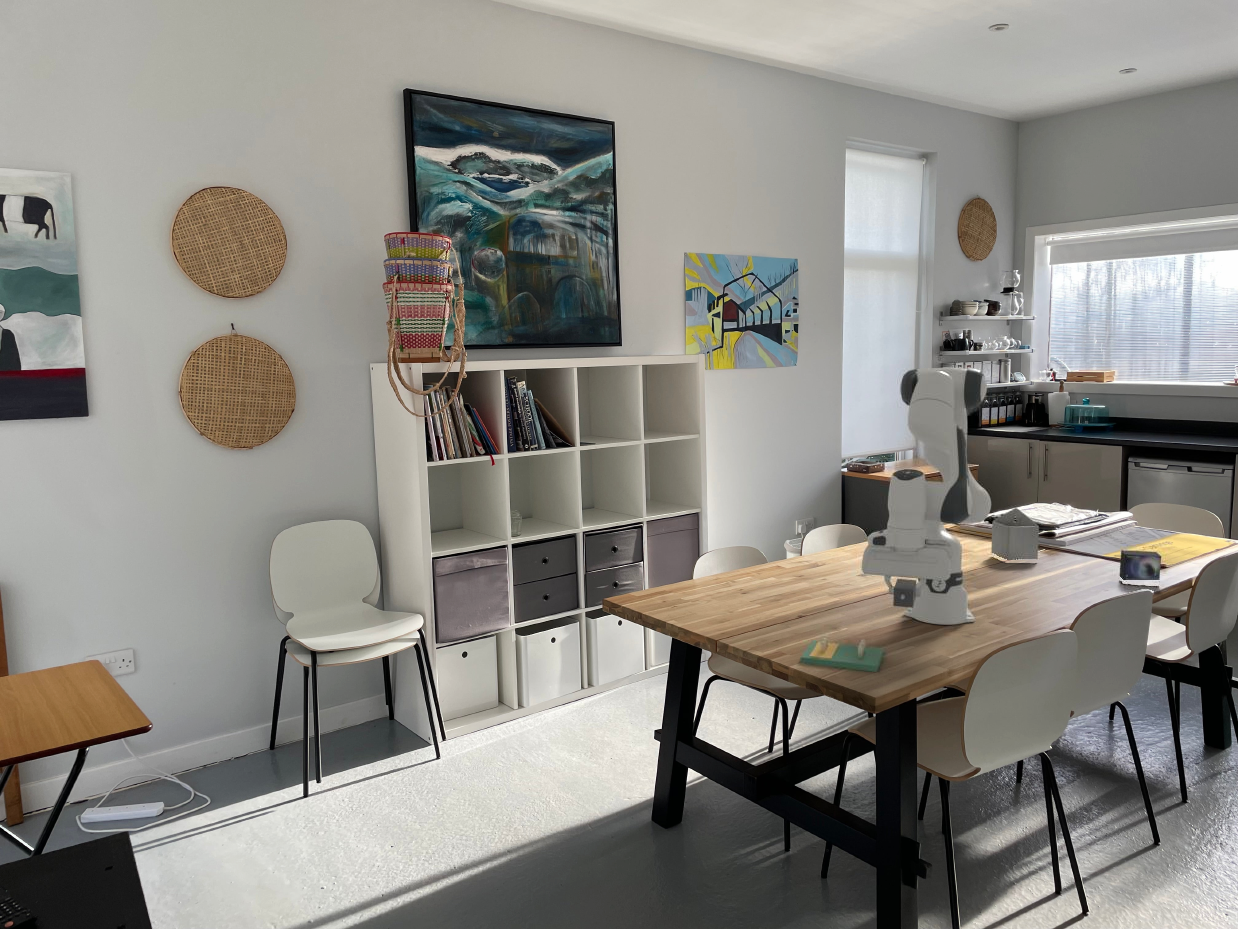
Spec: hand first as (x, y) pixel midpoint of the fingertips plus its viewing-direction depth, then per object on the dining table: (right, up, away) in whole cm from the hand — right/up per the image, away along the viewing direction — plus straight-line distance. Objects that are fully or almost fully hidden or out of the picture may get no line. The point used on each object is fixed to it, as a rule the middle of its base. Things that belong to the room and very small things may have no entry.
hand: (904, 595), depth 215 cm
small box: (+101, -8, +77) cm, 127 cm away
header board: (-13, -17, +7) cm, 22 cm away
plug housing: (-1, -2, -1) cm, 2 cm away
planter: (+74, -4, +111) cm, 133 cm away
